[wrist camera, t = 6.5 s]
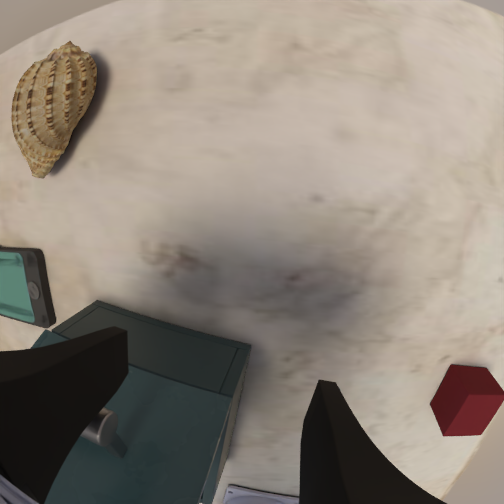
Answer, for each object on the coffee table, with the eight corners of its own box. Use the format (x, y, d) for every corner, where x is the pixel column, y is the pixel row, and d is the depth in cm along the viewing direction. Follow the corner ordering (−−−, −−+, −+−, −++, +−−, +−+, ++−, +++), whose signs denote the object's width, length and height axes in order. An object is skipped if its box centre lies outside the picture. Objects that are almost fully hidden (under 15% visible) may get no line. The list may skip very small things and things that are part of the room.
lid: (151, 635, 4) (126, 663, 1) (-53, 500, 6) (-109, 466, 3) (231, 403, 16) (237, 352, 13) (49, 335, 17) (24, 280, 15)
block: (465, 405, 20) (481, 435, 16) (429, 404, 20) (442, 436, 17) (486, 367, 19) (507, 395, 15) (450, 364, 19) (469, 394, 16)
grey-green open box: (226, 459, 25) (210, 506, 19) (107, 417, 27) (78, 453, 21) (251, 344, 22) (233, 395, 16) (97, 299, 23) (50, 329, 17)
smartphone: (49, 330, 24) (-27, 307, 26) (57, 324, 25) (-20, 303, 27) (33, 249, 22) (-40, 246, 24) (43, 246, 23) (-32, 243, 25)
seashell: (118, 155, 23) (109, 33, 17) (71, 192, 18) (50, 44, 12) (53, 152, 24) (40, 48, 18) (8, 184, 19) (-15, 66, 13)
